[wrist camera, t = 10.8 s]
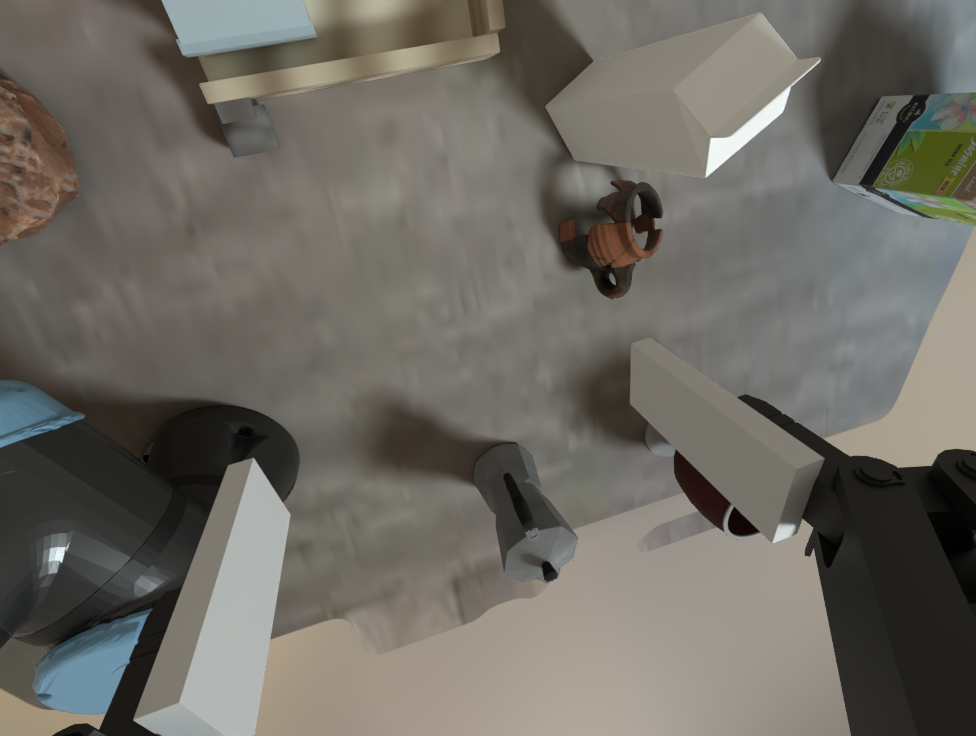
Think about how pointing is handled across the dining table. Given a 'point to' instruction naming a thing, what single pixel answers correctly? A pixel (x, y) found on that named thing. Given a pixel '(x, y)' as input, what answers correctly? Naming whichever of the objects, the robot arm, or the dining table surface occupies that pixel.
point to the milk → (679, 99)
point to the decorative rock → (31, 164)
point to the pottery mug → (615, 237)
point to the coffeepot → (523, 515)
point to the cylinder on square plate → (237, 24)
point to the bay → (345, 56)
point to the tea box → (917, 156)
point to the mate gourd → (702, 491)
